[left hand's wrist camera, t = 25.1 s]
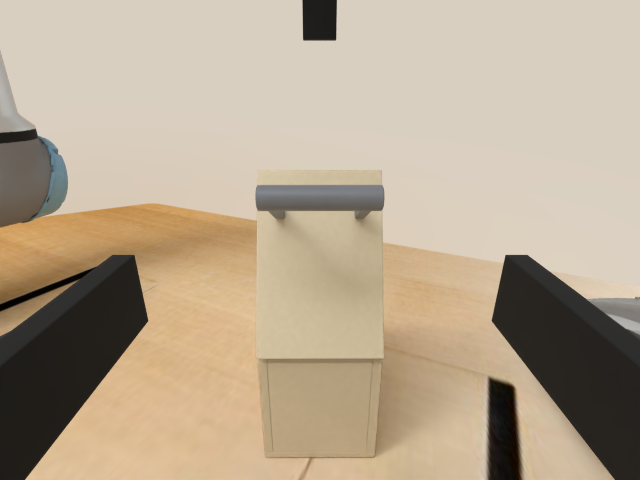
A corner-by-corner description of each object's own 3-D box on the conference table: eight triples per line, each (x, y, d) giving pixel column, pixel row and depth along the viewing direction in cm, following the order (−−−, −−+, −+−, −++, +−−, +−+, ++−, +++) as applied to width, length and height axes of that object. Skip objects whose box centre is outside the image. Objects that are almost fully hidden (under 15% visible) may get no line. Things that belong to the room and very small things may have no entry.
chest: (280, 353, 41) (276, 279, 37) (358, 353, 41) (362, 279, 37) (264, 458, 29) (257, 363, 25) (374, 457, 29) (382, 362, 25)
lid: (259, 173, 27) (233, 135, 19) (379, 173, 27) (406, 135, 19) (257, 355, 26) (230, 398, 18) (381, 355, 26) (410, 397, 18)
